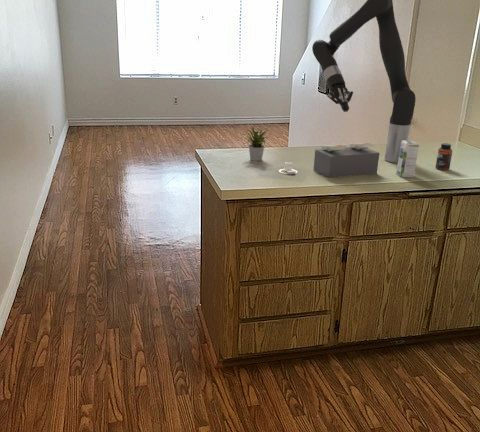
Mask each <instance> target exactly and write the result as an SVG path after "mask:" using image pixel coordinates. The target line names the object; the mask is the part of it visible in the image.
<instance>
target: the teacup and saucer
mask: <svg viewBox="0 0 480 432" xmlns="http://www.w3.org/2000/svg"><path fill="white" fill-rule="evenodd" d="M281 171H282V172H281ZM283 171H285V172H283ZM278 172H279V173H280V174H284V175H295V174H298V170H296V169H293V163H292V162H290V161H285V162H284V168H281V169H279V170H278Z"/></svg>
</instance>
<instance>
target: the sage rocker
mask: <svg viewBox="0 0 480 432" xmlns="http://www.w3.org/2000/svg"><path fill="white" fill-rule="evenodd" d="M321 149H327V151H339V150H340V149H346V145H341V144H340V145H335V144H330V145H328V144H327V145H321Z"/></svg>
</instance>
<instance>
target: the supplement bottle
mask: <svg viewBox="0 0 480 432" xmlns="http://www.w3.org/2000/svg"><path fill="white" fill-rule="evenodd" d="M451 147H452V144H450V143H448V142H443V143H442V142H441V146H440V147H439V148H438V149H437V155H436V161H435V162H436V163H435V169H437V170H439V171H448V170H450V167H451V162H452V157H453V155H452V154H453V150H452V148H451Z"/></svg>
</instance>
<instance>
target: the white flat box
mask: <svg viewBox="0 0 480 432" xmlns="http://www.w3.org/2000/svg"><path fill="white" fill-rule="evenodd" d="M349 147H350V148H356V149H367V148H368V149H369V148H374V147H375V143H373V142H371V143H369V142H368V143H367V142H366V143H365V142H364V143H350V144H349Z"/></svg>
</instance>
